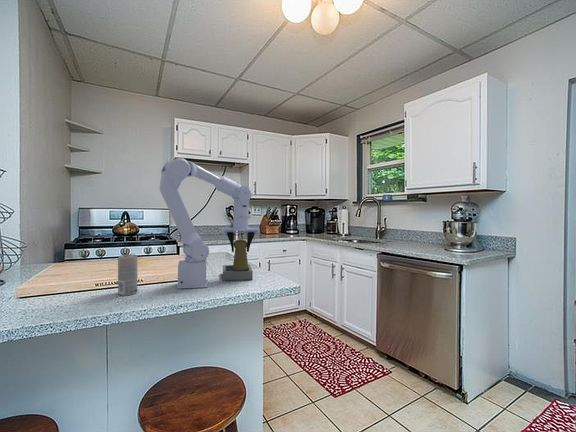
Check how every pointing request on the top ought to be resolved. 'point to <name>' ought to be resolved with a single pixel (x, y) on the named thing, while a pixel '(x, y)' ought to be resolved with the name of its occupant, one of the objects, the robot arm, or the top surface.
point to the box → (236, 273)
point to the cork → (240, 255)
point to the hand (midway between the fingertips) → (240, 251)
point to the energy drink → (127, 274)
